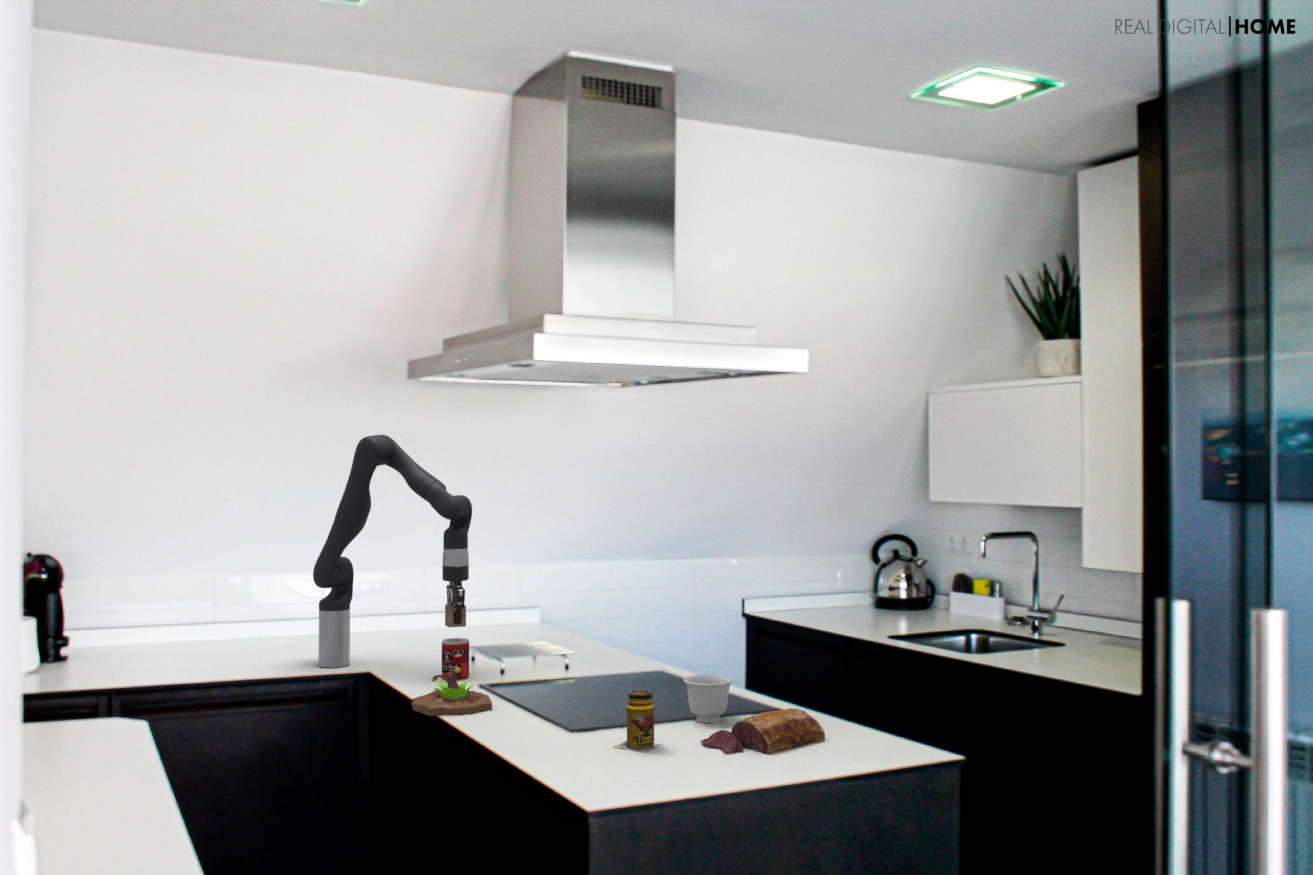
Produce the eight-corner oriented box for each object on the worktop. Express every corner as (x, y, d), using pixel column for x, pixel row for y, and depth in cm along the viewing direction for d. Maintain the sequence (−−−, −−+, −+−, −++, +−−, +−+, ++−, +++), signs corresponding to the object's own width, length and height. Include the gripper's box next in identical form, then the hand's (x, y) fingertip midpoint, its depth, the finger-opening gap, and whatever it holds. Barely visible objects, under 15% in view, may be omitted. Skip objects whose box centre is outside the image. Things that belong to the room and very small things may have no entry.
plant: (427, 720, 269) (427, 674, 269) (403, 705, 286) (403, 662, 286) (504, 711, 279) (504, 667, 279) (476, 697, 296) (476, 655, 296)
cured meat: (691, 746, 244) (691, 715, 244) (764, 727, 262) (764, 698, 262) (752, 764, 231) (753, 731, 231) (825, 743, 249) (825, 713, 249)
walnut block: (445, 624, 321) (445, 604, 321) (462, 623, 323) (462, 603, 323) (448, 627, 316) (448, 606, 317) (466, 626, 318) (466, 605, 319)
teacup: (715, 710, 278) (715, 670, 278) (741, 723, 264) (741, 681, 265) (671, 714, 274) (671, 674, 274) (695, 727, 260) (695, 685, 260)
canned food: (436, 679, 318) (436, 641, 318) (453, 674, 325) (453, 637, 325) (457, 681, 314) (457, 643, 314) (474, 676, 321) (474, 639, 321)
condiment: (646, 752, 238) (646, 697, 239) (612, 747, 242) (612, 693, 243) (662, 744, 245) (662, 690, 245) (629, 740, 249) (629, 687, 249)
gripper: (437, 562, 325) (437, 620, 325) (448, 566, 312) (448, 626, 312) (462, 561, 328) (462, 618, 328) (474, 565, 315) (474, 625, 315)
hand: (455, 622), depth 320 cm, fingers closed on walnut block, 5 cm apart
